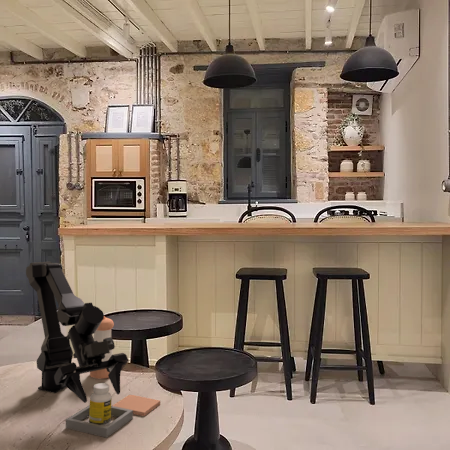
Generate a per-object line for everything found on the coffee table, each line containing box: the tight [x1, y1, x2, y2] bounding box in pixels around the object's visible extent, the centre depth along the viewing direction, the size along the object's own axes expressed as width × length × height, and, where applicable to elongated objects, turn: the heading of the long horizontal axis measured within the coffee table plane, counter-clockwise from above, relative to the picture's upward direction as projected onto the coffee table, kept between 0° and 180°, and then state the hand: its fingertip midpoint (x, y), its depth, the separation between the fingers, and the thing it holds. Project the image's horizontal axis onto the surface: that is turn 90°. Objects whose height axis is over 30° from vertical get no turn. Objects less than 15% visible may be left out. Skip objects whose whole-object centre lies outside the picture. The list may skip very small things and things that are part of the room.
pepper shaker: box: [89, 315, 115, 380], centre depth 168 cm, size 7×7×19 cm
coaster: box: [112, 394, 161, 417], centre depth 145 cm, size 10×9×1 cm
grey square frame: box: [65, 404, 134, 438], centre depth 134 cm, size 12×12×2 cm
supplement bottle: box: [88, 382, 112, 426], centre depth 134 cm, size 5×5×10 cm
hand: (102, 397), depth 133 cm, fingers open, 9 cm apart
